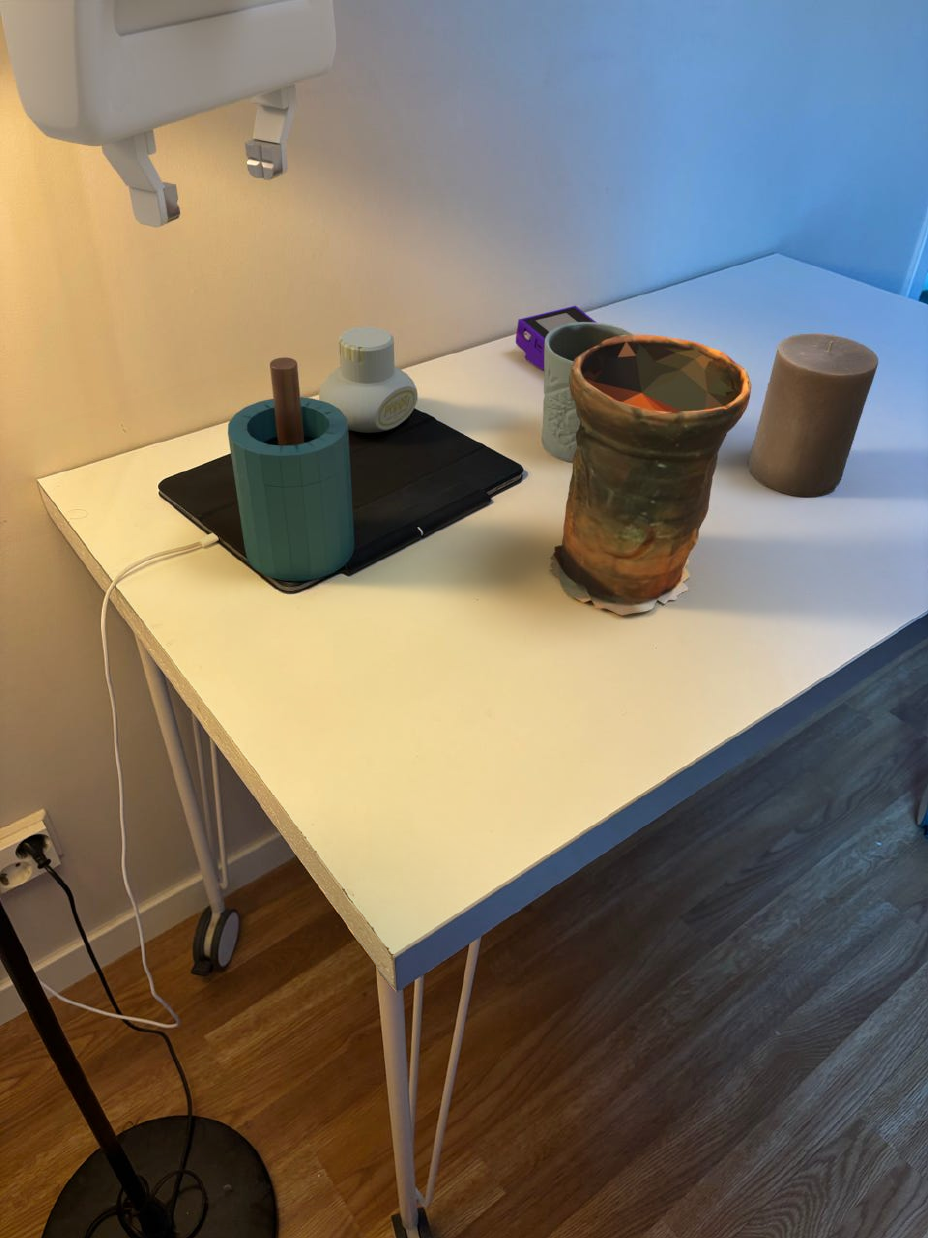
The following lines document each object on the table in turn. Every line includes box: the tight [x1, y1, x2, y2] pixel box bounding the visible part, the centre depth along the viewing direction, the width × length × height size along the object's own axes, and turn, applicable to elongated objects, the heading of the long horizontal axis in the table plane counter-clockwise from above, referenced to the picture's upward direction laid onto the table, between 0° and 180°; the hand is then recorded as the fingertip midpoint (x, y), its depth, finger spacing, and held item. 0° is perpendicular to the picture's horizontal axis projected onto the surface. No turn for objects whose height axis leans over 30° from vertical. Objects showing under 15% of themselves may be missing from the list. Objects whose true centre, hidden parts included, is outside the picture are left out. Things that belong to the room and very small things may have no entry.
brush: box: [269, 357, 304, 446], centre depth 83 cm, size 4×4×18 cm
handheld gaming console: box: [515, 305, 598, 372], centre depth 118 cm, size 9×5×15 cm
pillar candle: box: [747, 332, 879, 498], centre depth 97 cm, size 10×10×15 cm
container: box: [227, 396, 355, 582], centre depth 85 cm, size 10×10×13 cm
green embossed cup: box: [541, 321, 635, 464], centre depth 101 cm, size 10×10×12 cm
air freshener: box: [318, 325, 419, 434], centre depth 105 cm, size 11×8×10 cm
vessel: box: [548, 334, 752, 616], centre depth 82 cm, size 14×14×20 cm
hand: (216, 197), depth 52 cm, fingers open, 8 cm apart
